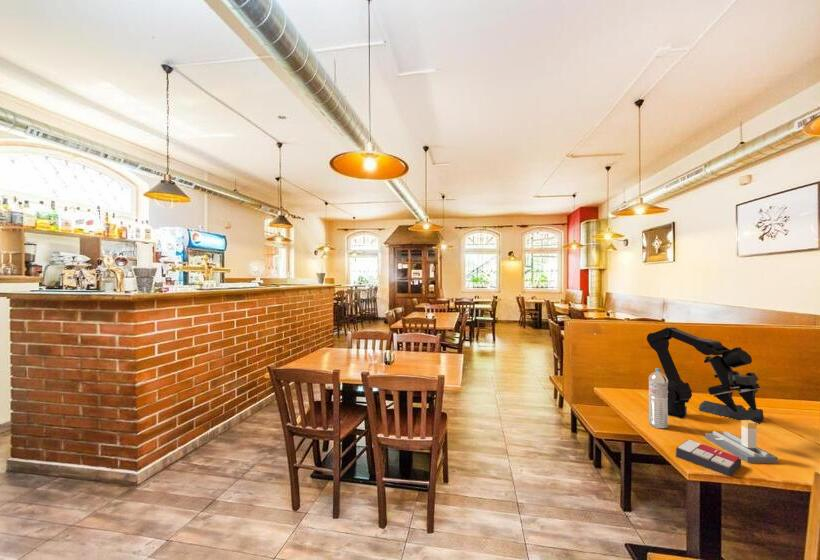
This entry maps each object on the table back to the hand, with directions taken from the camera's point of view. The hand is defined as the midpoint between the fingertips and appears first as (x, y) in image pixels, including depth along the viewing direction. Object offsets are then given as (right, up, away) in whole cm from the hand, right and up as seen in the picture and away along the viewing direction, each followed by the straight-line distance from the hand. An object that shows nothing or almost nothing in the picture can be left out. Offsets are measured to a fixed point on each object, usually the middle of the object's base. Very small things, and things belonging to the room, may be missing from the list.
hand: (745, 411), depth 132 cm
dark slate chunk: (+21, -13, +29) cm, 38 cm away
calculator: (-25, -14, -12) cm, 31 cm away
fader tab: (-7, -11, -8) cm, 15 cm away
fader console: (-7, -13, -4) cm, 15 cm away
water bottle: (-22, -13, +17) cm, 30 cm away
